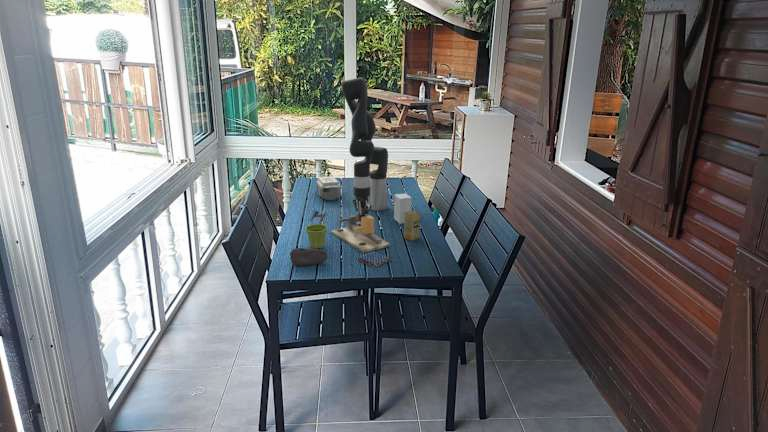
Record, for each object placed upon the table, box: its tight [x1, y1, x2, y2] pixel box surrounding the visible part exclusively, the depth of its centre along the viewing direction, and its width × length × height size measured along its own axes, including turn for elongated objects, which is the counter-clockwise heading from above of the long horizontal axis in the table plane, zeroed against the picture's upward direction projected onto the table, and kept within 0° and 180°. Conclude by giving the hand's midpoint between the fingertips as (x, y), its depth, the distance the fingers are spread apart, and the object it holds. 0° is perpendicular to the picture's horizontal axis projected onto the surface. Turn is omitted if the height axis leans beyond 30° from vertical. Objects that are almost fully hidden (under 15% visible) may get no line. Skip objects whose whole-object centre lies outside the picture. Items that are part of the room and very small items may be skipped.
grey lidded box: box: [315, 175, 342, 201], centre depth 294 cm, size 12×28×10 cm, turn 15°
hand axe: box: [346, 213, 361, 227], centre depth 260 cm, size 27×2×10 cm
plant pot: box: [305, 223, 328, 249], centre depth 222 cm, size 9×9×9 cm
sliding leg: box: [354, 215, 375, 237], centre depth 228 cm, size 9×4×8 cm, turn 124°
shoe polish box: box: [403, 210, 421, 241], centre depth 232 cm, size 5×5×12 cm
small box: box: [393, 193, 413, 225], centre depth 254 cm, size 8×6×13 cm
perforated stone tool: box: [289, 247, 329, 267], centre depth 205 cm, size 15×5×7 cm, turn 100°
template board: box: [331, 214, 391, 254], centre depth 230 cm, size 14×28×7 cm, turn 34°
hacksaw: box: [309, 210, 328, 225], centre depth 256 cm, size 24×10×2 cm, turn 177°
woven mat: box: [357, 250, 392, 269], centre depth 210 cm, size 10×11×2 cm
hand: (361, 221), depth 233 cm, fingers closed
